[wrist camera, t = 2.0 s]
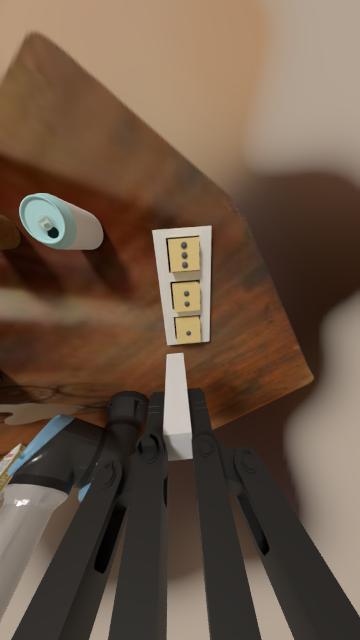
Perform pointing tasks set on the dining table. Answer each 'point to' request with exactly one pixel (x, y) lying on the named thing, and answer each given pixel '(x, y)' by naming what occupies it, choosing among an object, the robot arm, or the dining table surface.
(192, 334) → the one pip key
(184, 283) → the two pip key
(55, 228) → the can
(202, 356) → the dining table surface
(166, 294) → the keypad base
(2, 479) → the juice carton
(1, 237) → the disposable coffee cup
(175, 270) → the three pip key
